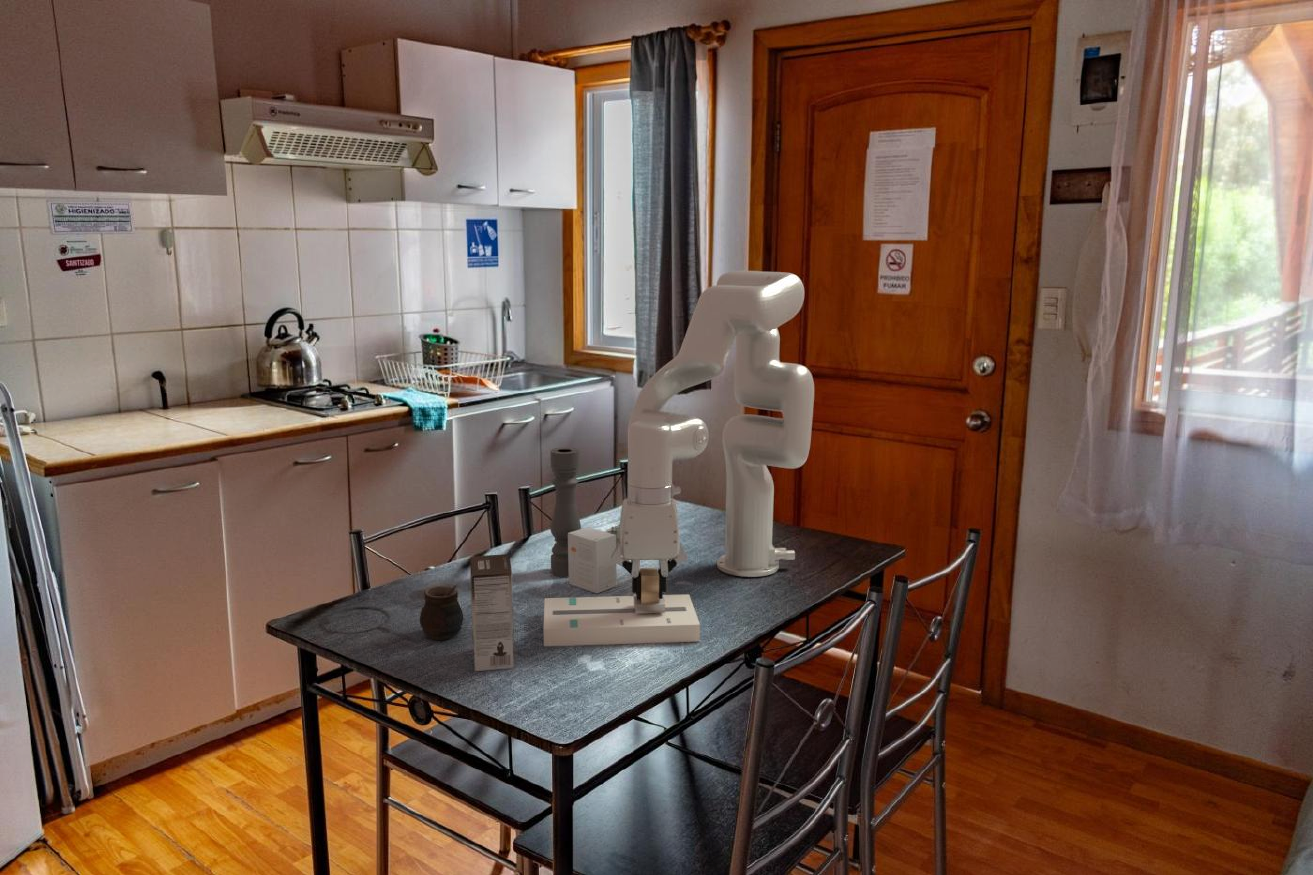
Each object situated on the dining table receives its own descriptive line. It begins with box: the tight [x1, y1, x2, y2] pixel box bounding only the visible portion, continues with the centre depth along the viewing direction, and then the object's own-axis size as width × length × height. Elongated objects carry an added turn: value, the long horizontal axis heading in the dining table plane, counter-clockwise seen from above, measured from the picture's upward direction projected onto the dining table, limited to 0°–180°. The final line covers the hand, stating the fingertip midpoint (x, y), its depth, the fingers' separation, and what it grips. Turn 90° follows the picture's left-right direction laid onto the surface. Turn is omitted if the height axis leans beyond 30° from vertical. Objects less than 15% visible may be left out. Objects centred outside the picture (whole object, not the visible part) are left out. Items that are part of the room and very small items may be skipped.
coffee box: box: [469, 553, 515, 672], centre depth 158 cm, size 9×6×16 cm
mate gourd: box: [419, 584, 464, 641], centre depth 168 cm, size 7×8×10 cm
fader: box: [633, 567, 665, 613], centre depth 172 cm, size 5×5×6 cm
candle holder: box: [549, 447, 582, 578], centre depth 197 cm, size 6×6×25 cm
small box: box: [568, 527, 618, 594], centre depth 192 cm, size 8×6×10 cm
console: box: [543, 593, 701, 647], centre depth 172 cm, size 26×14×3 cm, turn 96°
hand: (649, 595), depth 172 cm, fingers closed on fader, 3 cm apart
